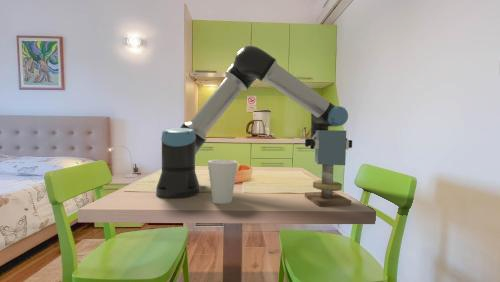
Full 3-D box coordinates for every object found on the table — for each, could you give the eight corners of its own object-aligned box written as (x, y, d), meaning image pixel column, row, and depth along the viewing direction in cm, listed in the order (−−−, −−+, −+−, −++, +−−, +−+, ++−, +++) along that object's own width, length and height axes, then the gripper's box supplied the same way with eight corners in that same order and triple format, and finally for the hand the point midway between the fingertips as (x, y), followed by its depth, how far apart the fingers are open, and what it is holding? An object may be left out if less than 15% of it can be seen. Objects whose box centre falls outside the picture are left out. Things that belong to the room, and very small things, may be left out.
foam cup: (231, 206, 72) (232, 164, 72) (203, 204, 74) (203, 162, 74) (239, 198, 82) (240, 160, 81) (213, 195, 83) (214, 159, 83)
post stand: (304, 196, 85) (306, 146, 84) (332, 195, 87) (334, 146, 86) (319, 206, 74) (321, 148, 73) (351, 205, 76) (353, 149, 76)
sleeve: (315, 161, 85) (315, 130, 85) (339, 161, 84) (340, 130, 83) (317, 164, 77) (318, 130, 76) (345, 165, 75) (346, 130, 75)
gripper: (349, 151, 96) (367, 157, 74) (295, 150, 99) (298, 155, 77) (349, 132, 96) (368, 133, 73) (296, 132, 99) (298, 132, 77)
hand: (332, 144), depth 75 cm, fingers closed on sleeve, 8 cm apart
